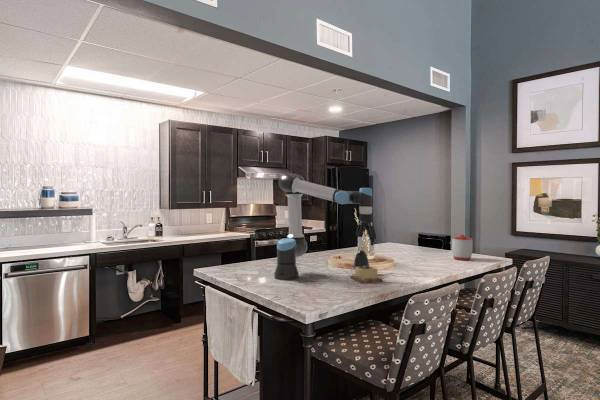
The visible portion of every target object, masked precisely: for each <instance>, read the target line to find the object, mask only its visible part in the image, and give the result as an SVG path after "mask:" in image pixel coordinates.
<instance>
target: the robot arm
mask: <svg viewBox="0 0 600 400" xmlns="http://www.w3.org/2000/svg"><path fill="white" fill-rule="evenodd" d="M278 186H279V188H280V189H281V191H284V193H285V194H284V195H285V197H287V209H288V211H287V213H288V234H287V236H286V238H282V239H279V240H278V241H277V243H276V267H275V270H274V274H273V276H274V278H275V279H277V280H281V281H282V280H283V281H287V280H296V279H298V278H299V276H300V275H299V270H298V267H297V259H296V258H298V257H301V256H303V255H304V254H306V252H307V251H308V242H307V241H306V240H305V239H306V238H305V235H304V234H303V224H302V222H303V220H302V196H303V195H308V196H312V197H315V198H318V199H323V200H327V201H329V202H330V201H331V202H334V203H337V204H339V205H347V204H352V205H353V204H359V209H358V210H359V215H358V216H359V221H358V224H357V228H356V231H355V235H356V237H357V248H363V234H364V232H365V231H366V233H367V235H368V238H369V239H368V251H369V252H373V251H374V249H375V248H374V247H375V239H377V234H376V230H375V226H374V222H371V221H372V220H373V190H372V188H371V187H360V188H359V190H356V191H355V190H353V191H352V190H342V189H337V188H333V187H330V186H325V185H322V184H317V183H313V182H311V181H310V182H309V181H307V180H305V178H304V177H303V176H302V175H300V174H297V173H289V172H287V173H284V174H282V175H281V176H280V177H279V180H278Z"/></svg>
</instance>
